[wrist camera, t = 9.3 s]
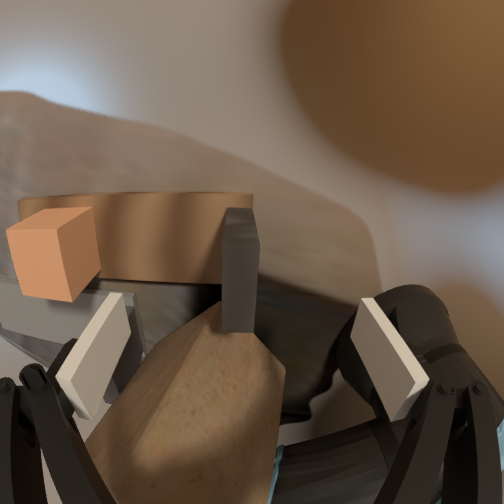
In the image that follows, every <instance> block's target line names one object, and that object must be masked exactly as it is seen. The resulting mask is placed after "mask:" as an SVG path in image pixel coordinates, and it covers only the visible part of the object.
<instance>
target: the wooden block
mask: <svg viewBox="0 0 504 504" xmlns="http://www.w3.org/2000/svg"><path fill="white" fill-rule="evenodd" d="M285 372H286V370H285V367H284V366H283V365H282V364H281V363H280V362H279V361H278V359H277V358H276V357H275V356H274V355H273V354H272V353H271V352H270V351H269V350H268V349H267V348H266V347H265V345H264V344H263V343H262V342H261V341H260V340H259V339H258V338H257V337H256V336H255V335H254V333H228V332H222V301H220V302H218V303H216V304H215V305H213V306H212V307H210V308H209V309H207V310H206V311H204V312H203V313H201V314H200V315H198V316H197V317H195V318H194V319H192V320H191V321H189V322H188V323H186V324H185V325H183V326H182V327H180V328H179V329H177V330H175V331H174V332H172V333H171V334H169V335H168V336H166V337H165V338H163V339H162V340H160V341H159V342H158V343H157V345H156V346H155V347H154V349H153V350H152V351H151V353H150V354H149V355H148V357H147V358H146V359H145V361H144V362H143V363H142V365H141V366H140V367H139V369H138V370H137V371H136V373H135V374H134V375H133V377H132V378H131V379H130V381H129V382H128V383H127V385H126V386H125V387H124V389H123V390H122V392H121V393H120V394H119V396H118V397H117V398H116V400H115V401H114V402H113V404H112V405H111V407H110V408H109V409H108V411H107V412H106V413H105V415H104V416H103V418H102V419H101V421H100V422H99V423H98V425H97V426H96V427H95V429H94V430H93V432H92V433H91V434H90V436H89V437H88V438H87V440H86V441H85V443H84V444H85V446H86V448H87V450H88V453H89V455H90V457H91V459H92V461H93V463H94V465H95V467H96V469H97V470H98V472H99V474H100V476H101V478H102V480H103V481H104V483H105V485H106V487H107V488H108V490H109V492H110V493H111V495H112V497H113V498H114V500H115V501H116V503H117V504H268V499H269V493H270V487H271V480H272V474H273V467H274V461H275V454H276V447H277V440H278V432H279V424H280V416H281V408H282V400H283V391H284V382H285Z"/></svg>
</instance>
